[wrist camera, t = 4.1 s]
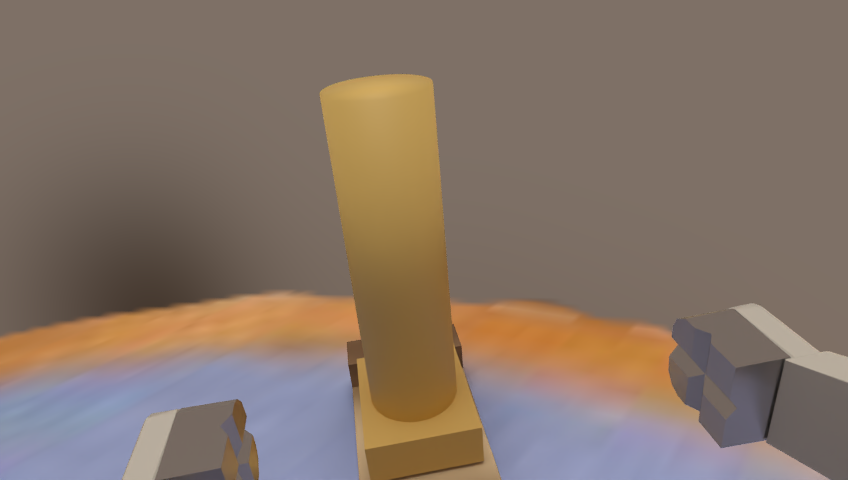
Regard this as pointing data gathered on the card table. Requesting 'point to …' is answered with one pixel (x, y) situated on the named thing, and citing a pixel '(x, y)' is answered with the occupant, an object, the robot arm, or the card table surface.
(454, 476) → the rail
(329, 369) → the card table surface
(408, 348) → the keeper
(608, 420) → the card table surface
